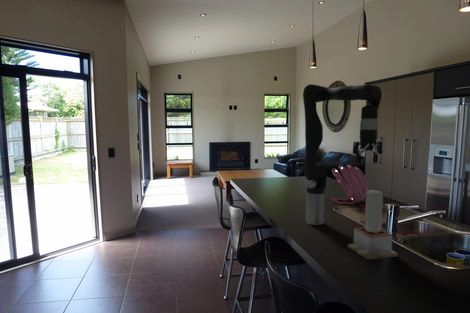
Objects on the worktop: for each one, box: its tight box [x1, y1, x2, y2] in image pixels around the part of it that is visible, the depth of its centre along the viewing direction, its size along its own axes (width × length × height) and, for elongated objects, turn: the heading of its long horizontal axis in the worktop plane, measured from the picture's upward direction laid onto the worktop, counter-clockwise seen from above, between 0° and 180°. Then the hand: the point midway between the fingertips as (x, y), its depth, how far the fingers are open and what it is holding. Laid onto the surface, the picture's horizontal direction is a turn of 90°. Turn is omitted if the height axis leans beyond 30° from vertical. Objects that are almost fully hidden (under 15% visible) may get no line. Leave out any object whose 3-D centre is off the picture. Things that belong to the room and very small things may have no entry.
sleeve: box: [353, 226, 393, 255], centre depth 133 cm, size 11×11×8 cm
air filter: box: [364, 189, 384, 235], centre depth 133 cm, size 6×6×25 cm
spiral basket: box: [330, 164, 369, 205], centre depth 216 cm, size 28×28×27 cm
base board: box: [347, 242, 399, 261], centre depth 134 cm, size 14×14×1 cm
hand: (367, 163), depth 146 cm, fingers open, 8 cm apart
